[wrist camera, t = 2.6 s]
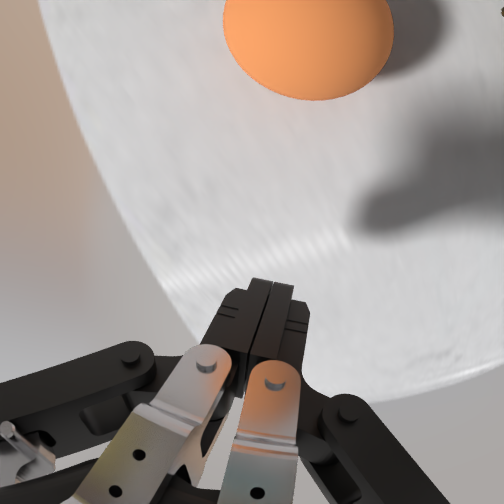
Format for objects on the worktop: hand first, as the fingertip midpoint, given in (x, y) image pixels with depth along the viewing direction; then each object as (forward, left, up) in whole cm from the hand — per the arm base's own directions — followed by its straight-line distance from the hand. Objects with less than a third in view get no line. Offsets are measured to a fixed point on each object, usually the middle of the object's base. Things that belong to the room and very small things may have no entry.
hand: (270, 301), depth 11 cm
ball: (-10, 0, -2) cm, 10 cm away
